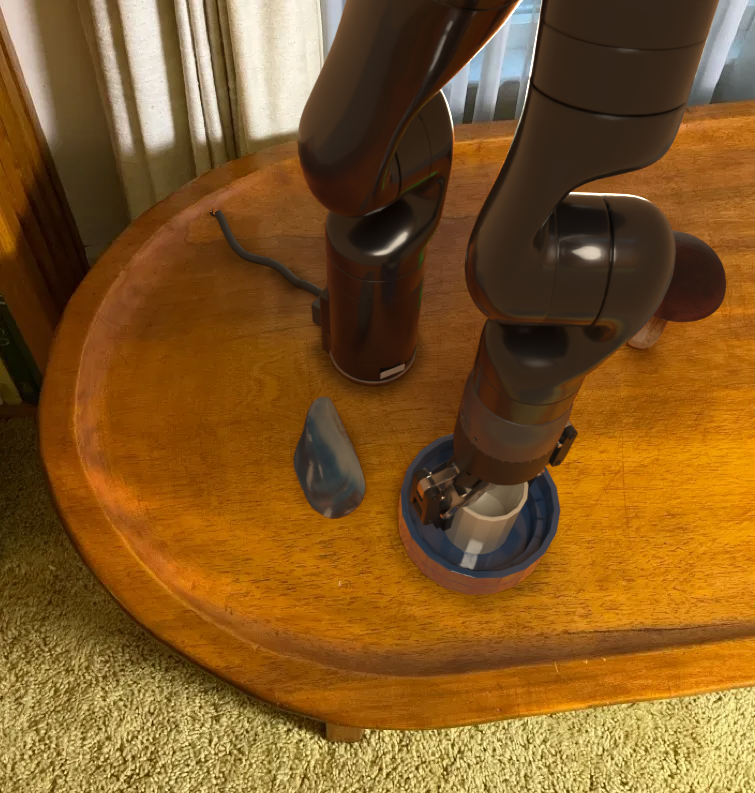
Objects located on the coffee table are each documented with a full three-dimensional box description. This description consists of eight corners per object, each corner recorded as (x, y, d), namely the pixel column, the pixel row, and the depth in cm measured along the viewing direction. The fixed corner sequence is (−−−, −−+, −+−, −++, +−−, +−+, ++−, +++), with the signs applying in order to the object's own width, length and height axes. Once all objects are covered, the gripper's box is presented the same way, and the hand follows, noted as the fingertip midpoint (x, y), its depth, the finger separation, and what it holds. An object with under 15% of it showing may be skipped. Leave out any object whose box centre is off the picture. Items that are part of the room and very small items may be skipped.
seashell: (341, 531, 69) (386, 431, 68) (261, 486, 72) (303, 390, 71) (366, 525, 75) (408, 433, 74) (292, 484, 78) (331, 395, 77)
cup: (429, 530, 72) (437, 494, 64) (463, 478, 75) (475, 437, 67) (489, 567, 70) (505, 535, 63) (522, 512, 73) (541, 475, 66)
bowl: (369, 541, 72) (370, 519, 67) (447, 431, 78) (453, 404, 73) (500, 627, 68) (511, 610, 63) (571, 505, 74) (586, 481, 69)
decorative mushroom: (678, 392, 81) (739, 306, 68) (576, 364, 82) (618, 274, 70) (690, 315, 86) (749, 221, 73) (594, 289, 88) (636, 193, 75)
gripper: (449, 496, 51) (429, 573, 65) (624, 417, 54) (569, 506, 69) (399, 408, 54) (390, 499, 68) (567, 339, 58) (525, 439, 72)
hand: (479, 502), depth 69 cm, fingers open, 7 cm apart
